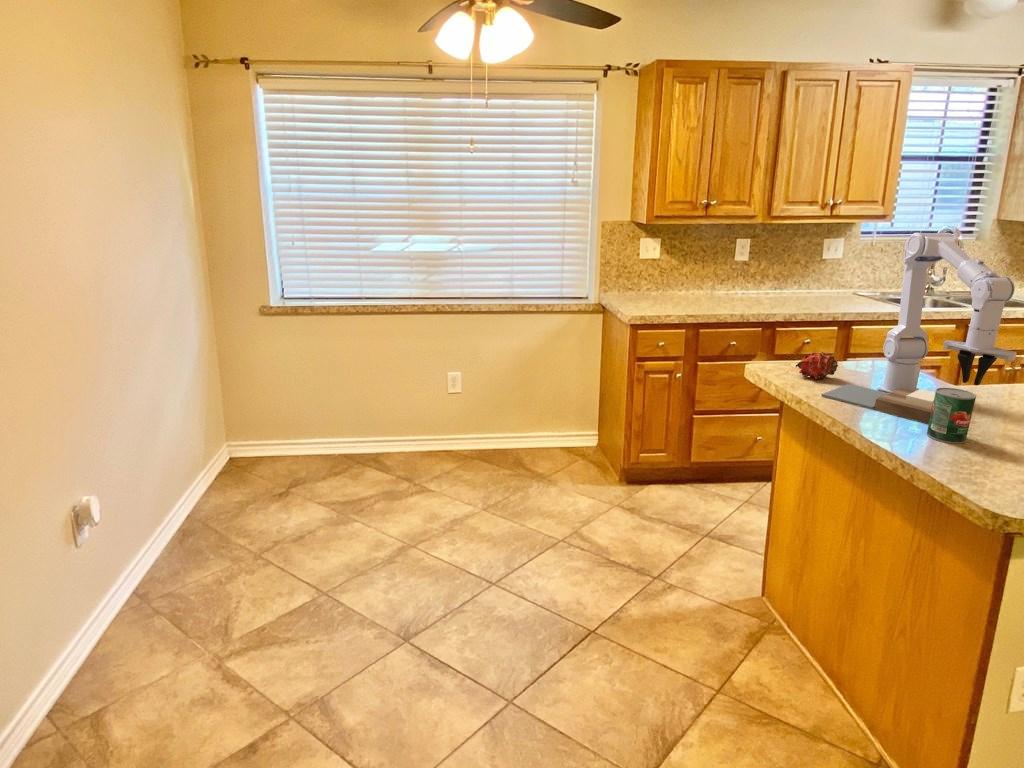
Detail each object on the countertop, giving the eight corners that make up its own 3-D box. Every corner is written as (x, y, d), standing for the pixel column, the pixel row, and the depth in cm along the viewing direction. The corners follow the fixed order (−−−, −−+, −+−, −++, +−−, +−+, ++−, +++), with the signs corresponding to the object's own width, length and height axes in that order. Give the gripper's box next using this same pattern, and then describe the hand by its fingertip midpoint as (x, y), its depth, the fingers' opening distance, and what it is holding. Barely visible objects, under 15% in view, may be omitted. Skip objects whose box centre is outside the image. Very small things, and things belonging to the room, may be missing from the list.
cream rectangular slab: (918, 396, 176) (920, 389, 176) (944, 402, 172) (945, 394, 171) (904, 403, 171) (906, 395, 170) (930, 409, 166) (932, 401, 166)
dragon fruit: (839, 385, 200) (796, 387, 203) (833, 362, 205) (791, 365, 208) (843, 367, 194) (799, 370, 196) (837, 344, 199) (794, 348, 202)
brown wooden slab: (899, 397, 184) (901, 387, 183) (956, 411, 174) (959, 400, 173) (873, 409, 174) (876, 398, 173) (933, 425, 164) (935, 413, 163)
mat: (848, 385, 194) (848, 383, 194) (897, 397, 185) (898, 395, 184) (821, 396, 185) (821, 394, 184) (871, 409, 175) (872, 407, 175)
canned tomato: (929, 428, 162) (938, 385, 158) (968, 436, 157) (978, 392, 154) (923, 438, 156) (933, 393, 153) (963, 446, 151) (974, 400, 148)
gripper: (943, 325, 161) (931, 379, 165) (1014, 336, 151) (1000, 393, 155) (953, 321, 165) (942, 374, 170) (1024, 332, 155) (1010, 388, 159)
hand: (971, 383), depth 162 cm, fingers closed
